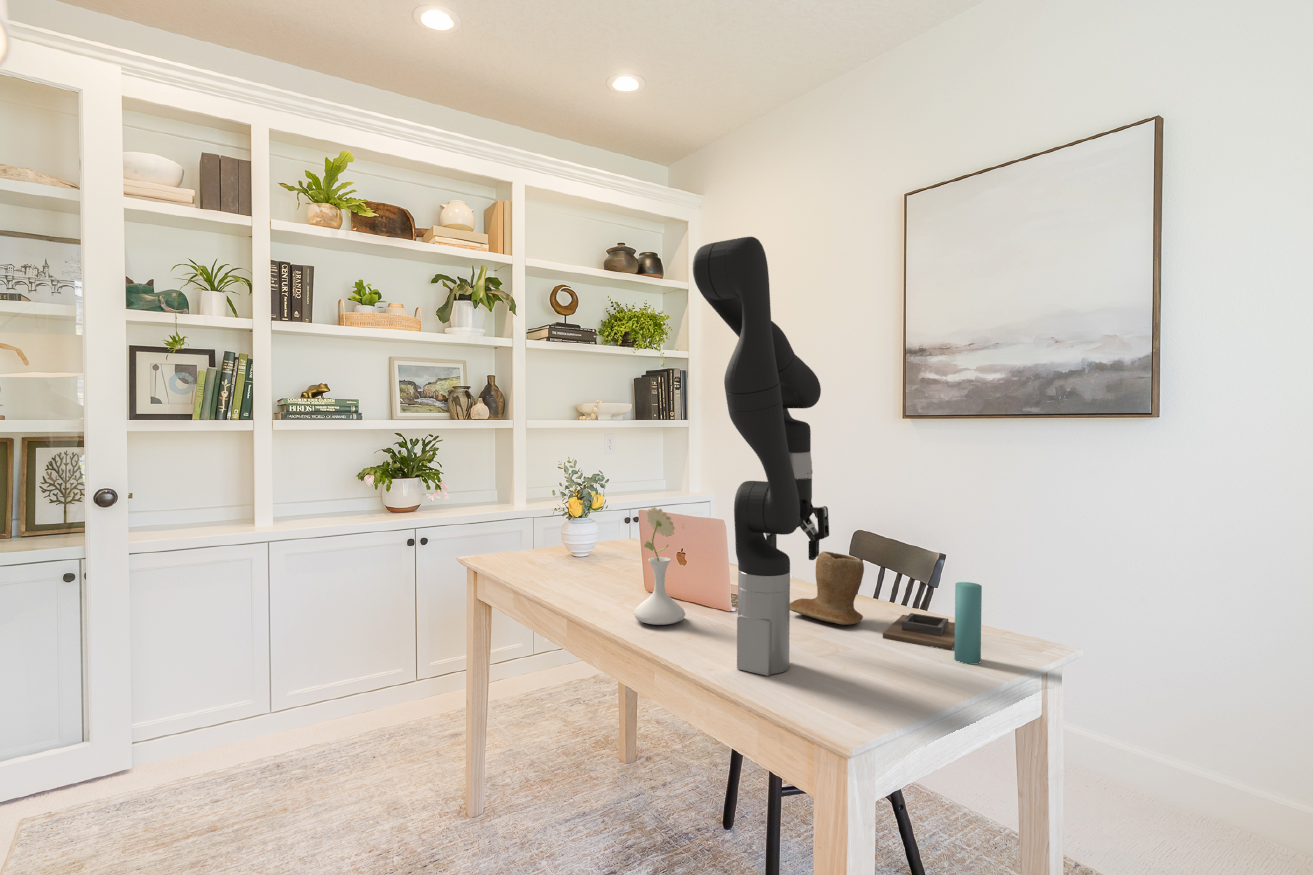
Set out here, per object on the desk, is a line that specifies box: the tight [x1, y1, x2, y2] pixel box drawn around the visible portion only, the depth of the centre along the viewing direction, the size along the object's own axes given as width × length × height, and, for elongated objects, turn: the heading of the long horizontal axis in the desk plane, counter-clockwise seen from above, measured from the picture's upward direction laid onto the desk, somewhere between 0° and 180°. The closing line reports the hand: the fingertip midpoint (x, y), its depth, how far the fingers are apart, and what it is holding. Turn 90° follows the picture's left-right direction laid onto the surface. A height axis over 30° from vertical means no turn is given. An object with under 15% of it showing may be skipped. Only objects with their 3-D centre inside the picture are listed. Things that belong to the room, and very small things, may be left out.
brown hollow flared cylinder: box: [790, 551, 865, 625], centre depth 149 cm, size 15×12×15 cm
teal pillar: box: [954, 581, 983, 664], centre depth 123 cm, size 4×4×14 cm
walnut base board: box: [882, 612, 955, 651], centre depth 138 cm, size 16×13×3 cm
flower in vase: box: [633, 506, 686, 626], centre depth 147 cm, size 13×11×25 cm
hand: (792, 556), depth 131 cm, fingers open, 8 cm apart
